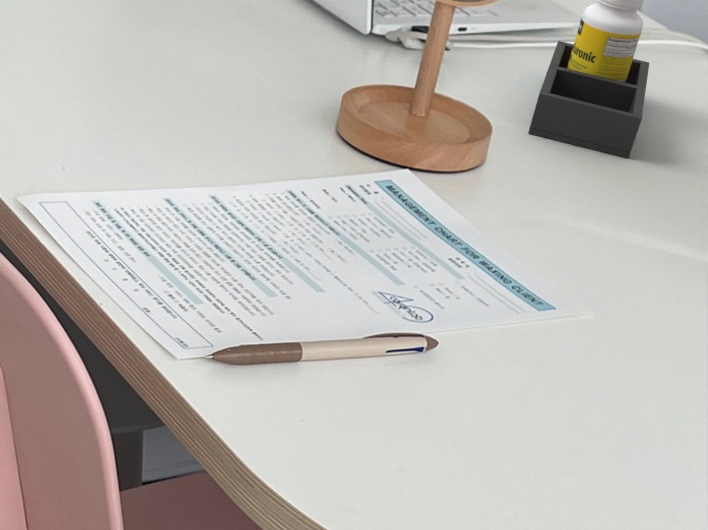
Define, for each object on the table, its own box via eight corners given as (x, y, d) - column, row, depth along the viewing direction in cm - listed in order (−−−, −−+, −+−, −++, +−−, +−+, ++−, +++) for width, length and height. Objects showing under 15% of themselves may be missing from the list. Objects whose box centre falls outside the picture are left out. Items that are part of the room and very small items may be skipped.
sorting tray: (547, 76, 124) (558, 40, 122) (637, 98, 123) (649, 62, 121) (528, 133, 111) (539, 93, 109) (628, 158, 109) (641, 118, 107)
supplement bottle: (552, 81, 121) (583, -27, 115) (605, 85, 122) (638, -21, 117) (574, 103, 117) (607, -7, 111) (629, 108, 118) (664, -1, 112)
